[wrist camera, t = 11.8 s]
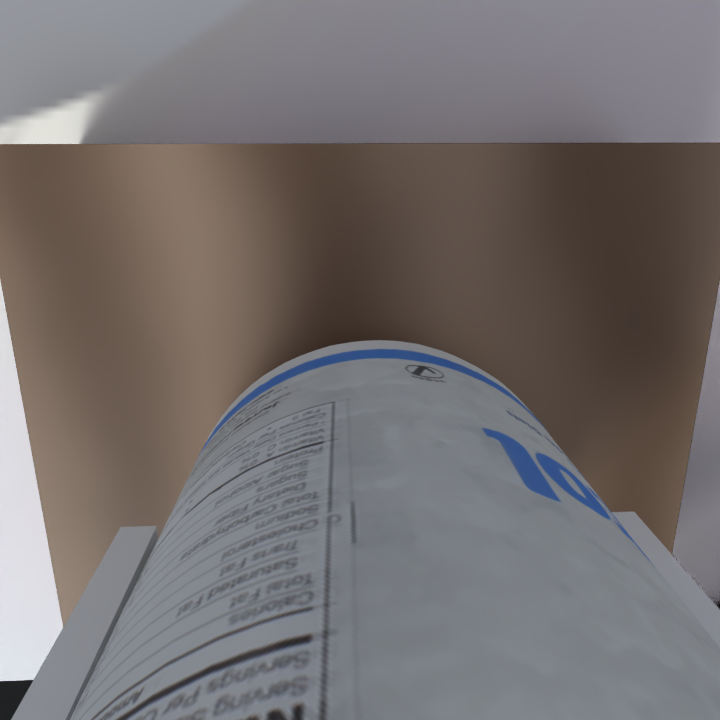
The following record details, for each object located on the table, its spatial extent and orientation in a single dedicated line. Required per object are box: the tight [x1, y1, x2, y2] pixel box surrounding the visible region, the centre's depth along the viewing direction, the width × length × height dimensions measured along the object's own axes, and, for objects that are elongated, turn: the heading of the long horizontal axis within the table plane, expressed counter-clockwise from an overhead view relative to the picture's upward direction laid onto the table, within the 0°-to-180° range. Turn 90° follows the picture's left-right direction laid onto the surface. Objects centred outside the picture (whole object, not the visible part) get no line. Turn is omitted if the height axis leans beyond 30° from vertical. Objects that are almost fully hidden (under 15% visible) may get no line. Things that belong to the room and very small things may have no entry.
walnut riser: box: [0, 143, 720, 627], centre depth 20 cm, size 18×18×6 cm
